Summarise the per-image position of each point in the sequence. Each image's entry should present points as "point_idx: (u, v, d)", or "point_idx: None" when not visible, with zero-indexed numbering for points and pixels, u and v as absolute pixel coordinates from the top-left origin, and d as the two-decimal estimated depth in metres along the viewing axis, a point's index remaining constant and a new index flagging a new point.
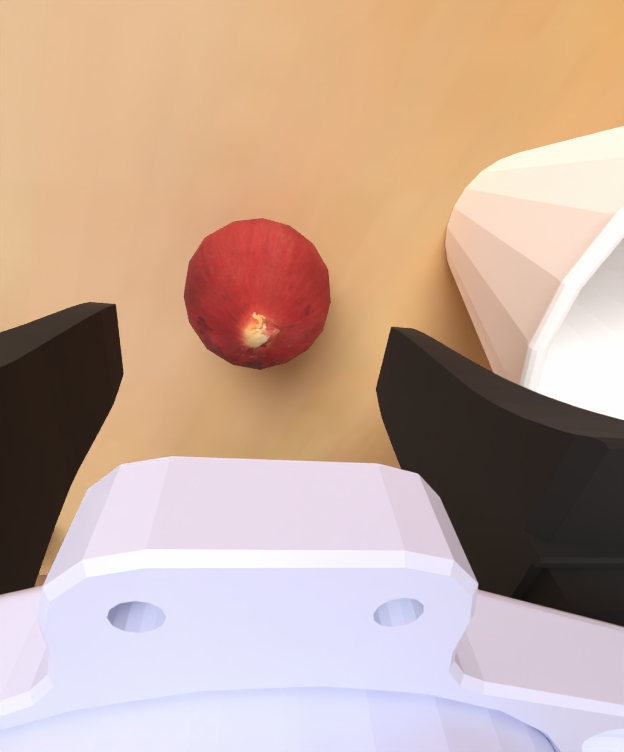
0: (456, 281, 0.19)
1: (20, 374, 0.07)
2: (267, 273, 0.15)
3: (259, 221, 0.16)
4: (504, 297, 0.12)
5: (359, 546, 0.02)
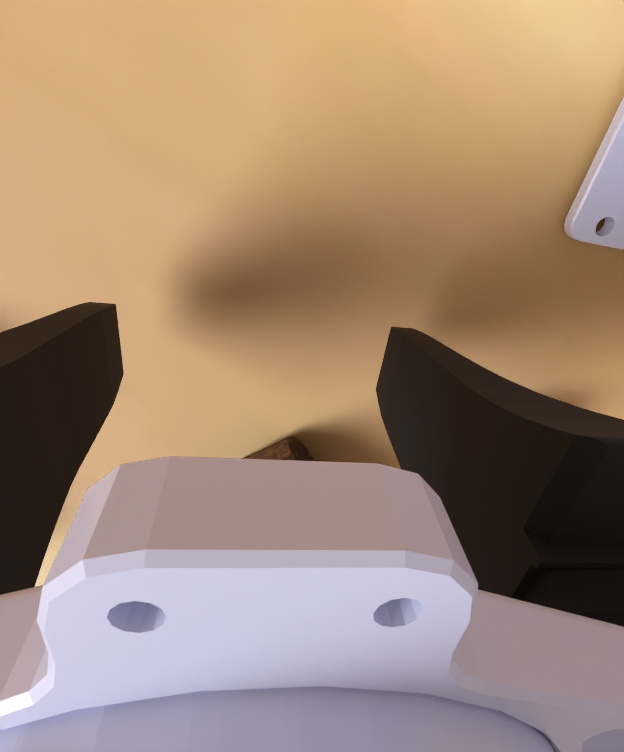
0: None
1: (20, 374, 0.07)
2: None
3: None
4: None
5: (358, 547, 0.02)
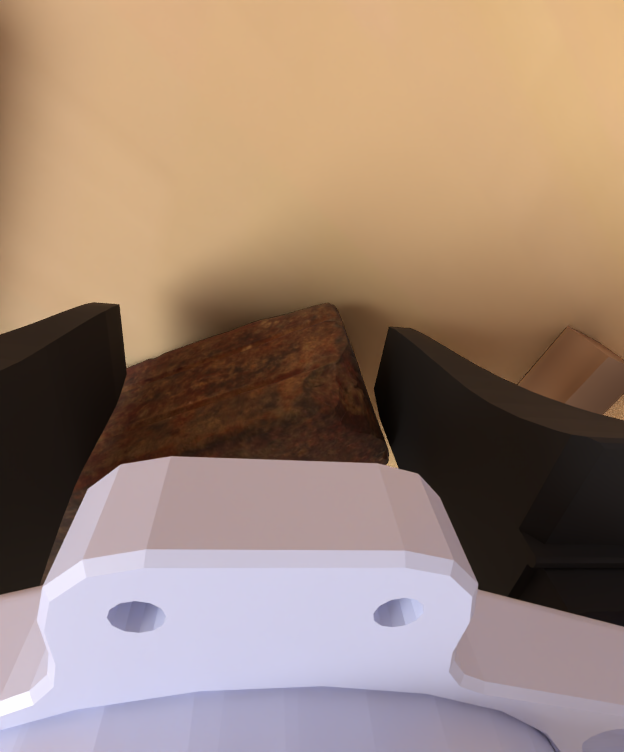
0: None
1: (26, 374, 0.07)
2: None
3: None
4: None
5: (358, 546, 0.02)
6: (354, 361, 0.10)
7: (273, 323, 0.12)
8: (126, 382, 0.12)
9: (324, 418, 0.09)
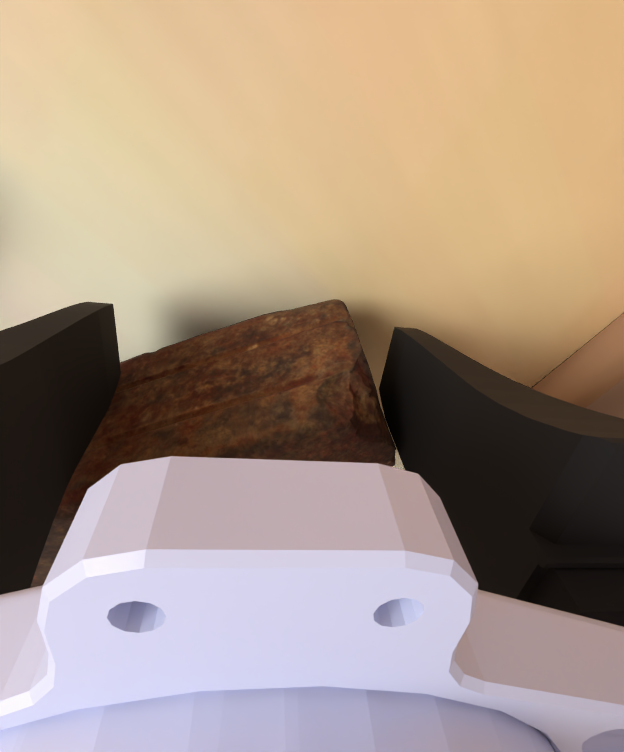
0: None
1: (15, 374, 0.07)
2: None
3: None
4: None
5: (358, 546, 0.02)
6: (368, 368, 0.10)
7: (280, 320, 0.11)
8: (124, 379, 0.11)
9: (339, 431, 0.09)
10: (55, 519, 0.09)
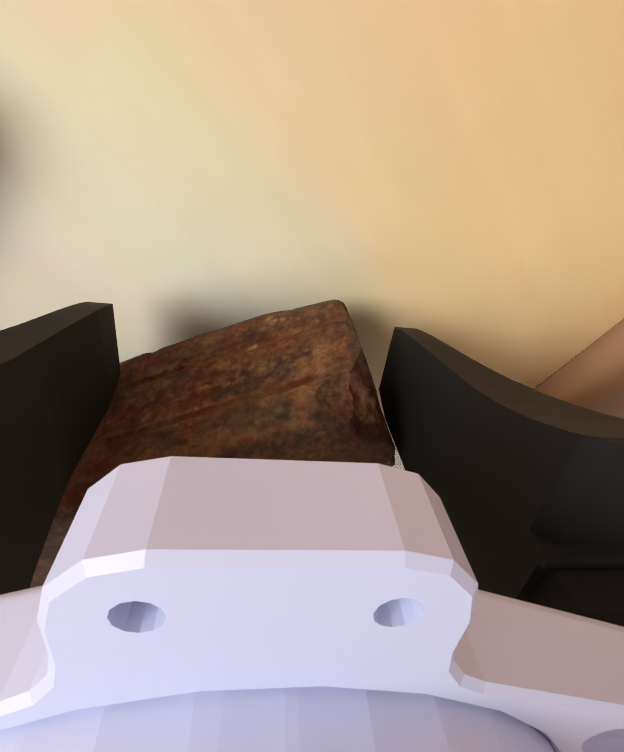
0: None
1: (15, 374, 0.07)
2: None
3: None
4: None
5: (358, 546, 0.02)
6: (367, 368, 0.10)
7: (279, 320, 0.11)
8: (124, 379, 0.11)
9: (338, 431, 0.09)
10: (55, 519, 0.09)
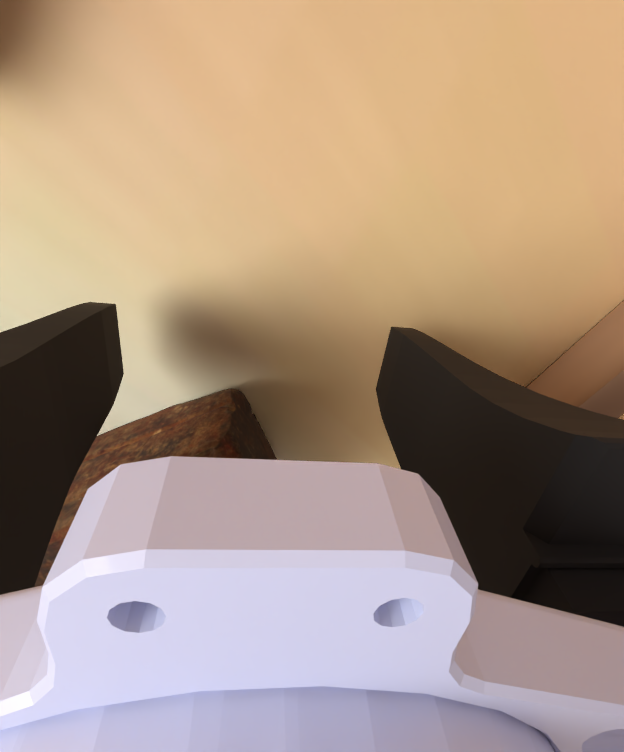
0: None
1: (20, 374, 0.07)
2: None
3: None
4: None
5: (358, 546, 0.02)
6: (235, 444, 0.12)
7: (183, 408, 0.14)
8: None
9: None
10: None
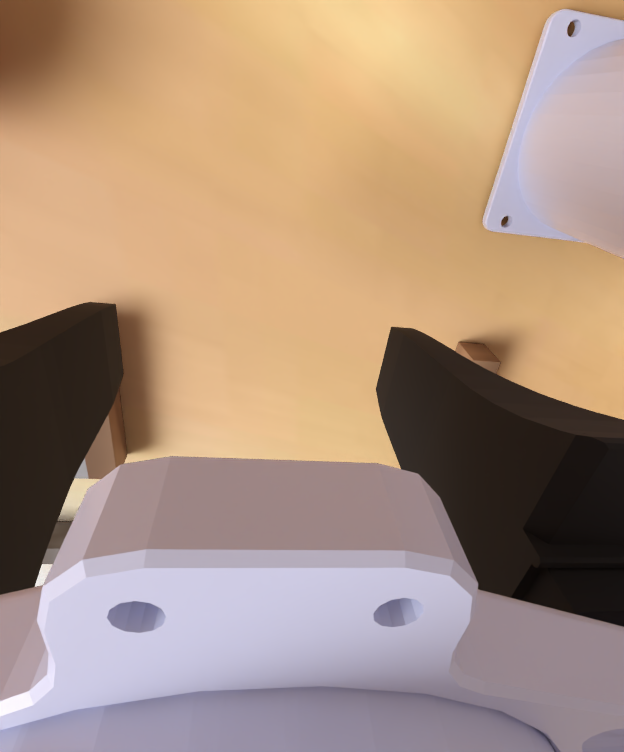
0: None
1: (20, 374, 0.07)
2: None
3: None
4: None
5: (358, 546, 0.02)
6: None
7: None
8: None
9: None
10: None
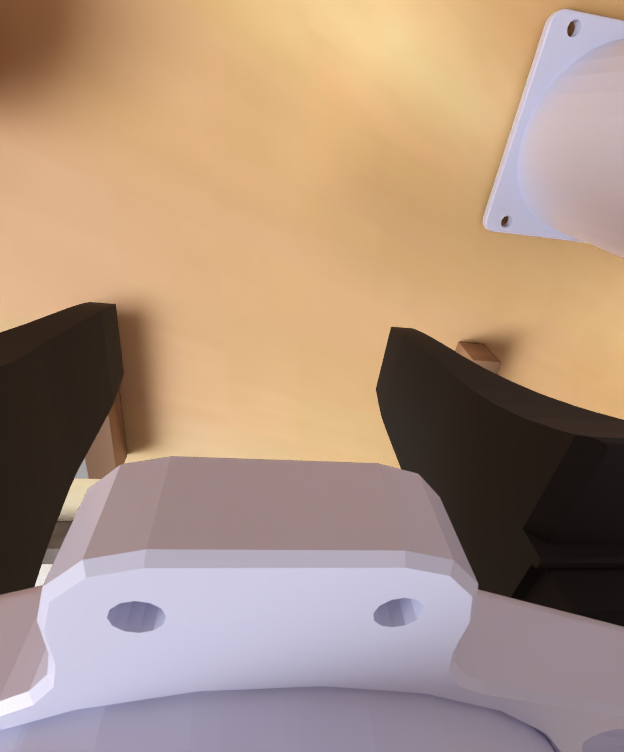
0: None
1: (20, 374, 0.07)
2: None
3: None
4: None
5: (359, 547, 0.02)
6: None
7: None
8: None
9: None
10: None
